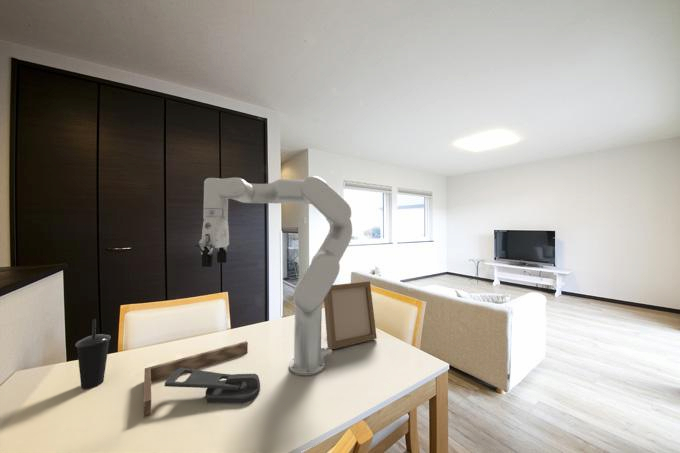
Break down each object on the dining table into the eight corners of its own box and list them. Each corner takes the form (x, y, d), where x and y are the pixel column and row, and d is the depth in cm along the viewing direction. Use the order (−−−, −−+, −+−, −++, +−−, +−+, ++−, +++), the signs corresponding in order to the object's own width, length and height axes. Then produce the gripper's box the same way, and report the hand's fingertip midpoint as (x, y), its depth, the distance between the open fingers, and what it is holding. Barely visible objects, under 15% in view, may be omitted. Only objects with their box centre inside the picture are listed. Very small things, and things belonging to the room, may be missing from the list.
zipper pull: (178, 365, 74) (263, 362, 77) (178, 387, 74) (262, 383, 77) (160, 384, 65) (256, 379, 68) (159, 409, 65) (255, 403, 68)
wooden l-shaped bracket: (246, 351, 96) (246, 341, 96) (264, 373, 82) (264, 361, 82) (144, 381, 77) (144, 368, 77) (143, 417, 62) (143, 402, 62)
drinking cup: (68, 395, 70) (70, 325, 70) (81, 380, 77) (83, 317, 77) (104, 388, 73) (105, 321, 74) (113, 374, 80) (115, 313, 81)
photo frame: (376, 340, 107) (377, 283, 107) (332, 351, 97) (332, 288, 97) (358, 328, 120) (359, 277, 120) (317, 337, 110) (318, 281, 110)
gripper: (213, 213, 75) (212, 268, 75) (237, 216, 93) (236, 261, 92) (189, 212, 75) (188, 268, 75) (217, 216, 93) (216, 261, 92)
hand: (214, 264), depth 84 cm, fingers open, 9 cm apart
